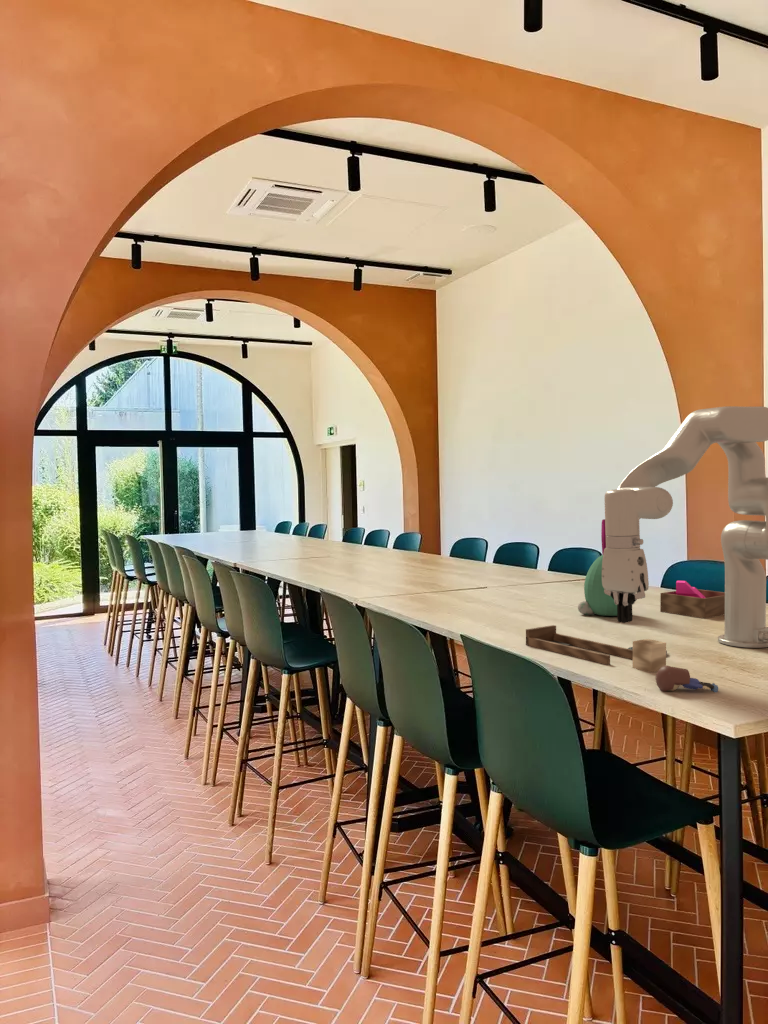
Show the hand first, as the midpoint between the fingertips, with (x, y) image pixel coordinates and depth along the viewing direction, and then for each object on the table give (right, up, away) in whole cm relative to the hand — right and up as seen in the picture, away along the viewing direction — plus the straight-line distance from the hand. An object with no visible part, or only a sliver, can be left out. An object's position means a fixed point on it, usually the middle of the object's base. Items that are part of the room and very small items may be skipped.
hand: (625, 621), depth 171 cm
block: (+3, -10, -6) cm, 12 cm away
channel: (-8, -9, +11) cm, 16 cm away
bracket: (+45, -7, +67) cm, 81 cm away
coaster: (+8, -9, +8) cm, 15 cm away
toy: (+14, -7, +62) cm, 64 cm away
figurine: (+4, -11, -24) cm, 27 cm away
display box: (+45, -7, +66) cm, 80 cm away
